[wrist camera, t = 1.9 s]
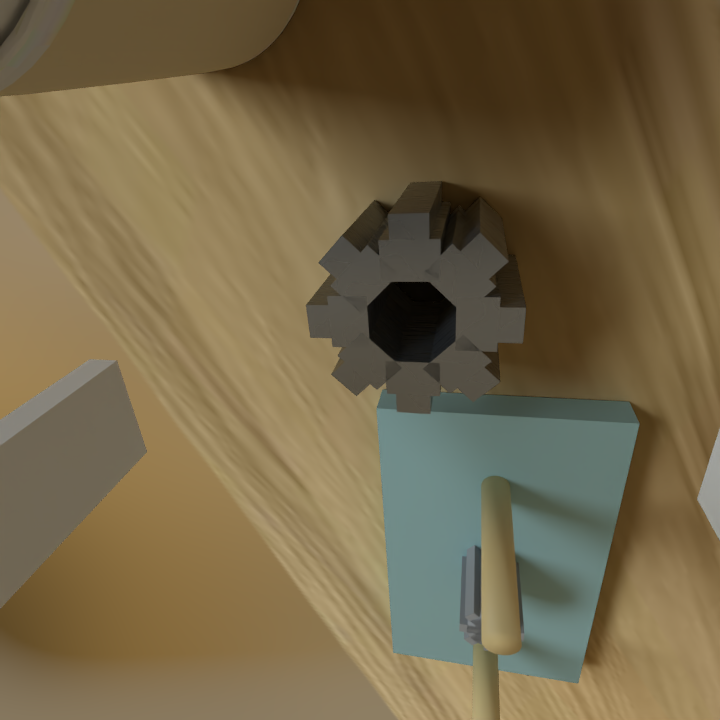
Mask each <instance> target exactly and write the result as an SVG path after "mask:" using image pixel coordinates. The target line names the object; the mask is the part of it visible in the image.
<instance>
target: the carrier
mask: <svg viewBox="0 0 720 720" xmlns="http://www.w3.org/2000/svg"><path fill="white" fill-rule="evenodd" d="M377 421H378V435H379V450H380V464H381V479H382V494H383V508H384V523H385V538H386V552H387V567H388V581H389V596H390V611H391V625H392V640H393V653H399V654H405V655H411V656H417V657H423V658H429V659H435V660H441V661H447V662H453V663H459V664H465V665H471V666H473V694H472V720H500V706H499V673H498V670H501V671H507V672H513V673H519V674H525V675H531V676H537V677H543V678H549V679H555V680H561V681H567V682H573V683H578V682H579V678H580V674H581V669H582V665H583V661H584V657H585V652H586V648H587V644H588V640H589V636H590V631H591V627H592V623H593V619H594V614H595V610H596V606H597V602H598V598H599V593H600V589H601V585H602V581H603V576H604V572H605V568H606V564H607V559H608V555H609V551H610V547H611V543H612V538H613V534H614V530H615V526H616V521H617V517H618V513H619V509H620V505H621V500H622V496H623V492H624V488H625V483H626V479H627V475H628V471H629V467H630V462H631V458H632V454H633V450H634V445H635V441H636V437H637V433H638V428H639V424H640V423H639V421H638V419H637V417H636V415H635V413H634V411H633V409H632V406H631V404H630V402H624V401H604V400H584V399H564V398H543V397H523V396H503V395H482V396H481V397H479V398H478V399H477V400H475V401H474V402H472V401H471V400H470V399H469V398H468V397H467V396H466V395H464V394H463V393H443V392H440V396H433V401H432V408H431V414H419V413H402V412H397V404H396V394H387V390H382V393H381V396H380V400H379V403H378V406H377Z"/></svg>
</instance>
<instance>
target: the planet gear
mask: <svg viewBox="0 0 720 720" xmlns="http://www.w3.org/2000/svg"><path fill="white" fill-rule="evenodd" d="M319 264H320V265H321V266H323V267H324V268H325V269H326V270H327V271H328V272H329V273H330V276H329V277H328V278H327V279H326V281H325V282H324V283H323V284H322V286H321V287H320V288H319V289H318V291H317V292H316V293H315V294H314V296H313V297H312V298H311V299H310V301H309V302H308V303H307V305H306V308H307V316H308V323H309V331H310V338H332V345H333V347H342V348H341V350H340V352H339V354H338V356H339V357H340V359H339V361H338V363H337V365H336V367H335V368H334V370H333V372H332V374H331V375H332V376H334V377H335V378H336V379H337V380H338V381H339V382H341V383H342V384H343V385H344V386H345V387H346V388H348V389H349V390H350V391H351V392H352V393H354V394H355V395H356V396H357V395H358V394H359V393H360V392H362V391H363V390H364V389H365V388H366V387H367V386H368V385H369V384H371V385H372V386H373V387H374V388H376V389H378V388H380V387H381V386H382V385H383V384H384V383H385V382H386V387H387V394H396V404H397V412H402V413H419V414H431V408H432V401H433V396H440V392H441V386H442V387H444V388H445V389H446V390H447V391H448V392H449V393H451V392H453V391H454V390H455V389H457V388H458V389H459V390H460V391H461V392H462V393H463V394H464V395H466V396H467V397H468V398H469V399H470V400H471V401H472V402H474V401H475V400H477V399H478V398H479V397H481V396H482V395H483V394H485V393H486V392H487V391H489V390H490V389H492V388H493V387H494V386H496V385H497V384H498V383H500V370H499V355H498V343H523V337H524V326H525V315H526V305H525V300H524V295H523V290H522V285H521V280H520V275H519V270H518V265H517V261H516V256H515V255H508V253H507V247H506V241H505V234H504V228H503V222H502V218H501V217H500V216H499V215H498V214H497V213H496V212H495V211H494V210H493V209H492V208H491V207H490V206H489V205H488V204H487V203H486V202H485V201H484V200H483V199H482V198H481V197H479V198H478V199H477V200H476V201H475V202H474V203H473V204H472V205H471V206H470V207H469V208H468V209H467V210H466V211H465V210H464V209H463V208H462V207H461V206H460V205H459V206H458V207H457V208H456V209H455V210H454V211H453V212H452V213H451V214H450V202H442V181H437V182H413V183H410V184H409V185H408V187H407V188H406V190H405V191H404V192H403V194H402V195H401V197H400V198H399V199H398V201H397V202H396V204H395V205H394V206H393V208H392V209H391V210H390V212H389V213H388V212H387V211H386V210H385V209H384V208H383V207H382V206H381V205H380V204H379V203H377V202H376V201H375V200H374V201H373V202H372V203H371V204H370V206H369V207H368V208H367V209H366V210H365V211H364V212H363V213H362V214H361V215H360V216H359V218H358V219H357V220H356V221H355V222H354V223H353V224H352V225H351V226H350V227H349V228H348V229H347V231H346V232H345V233H344V234H343V235H342V236H341V237H340V238H339V239H338V241H337V242H336V243H335V244H334V245H333V246H332V248H331V249H330V250H329V251H328V252H327V253H326V255H325V256H324V257H323V258H322V259H321V260H320V261H319ZM394 282H430V283H431V284H432V285H433V286H434V287H435V288H436V289H437V290H439V291H440V292H441V293H442V294H443V295H444V296H445V297H446V298H444V299H443V300H442V301H441V302H430V301H413V300H412V299H410V298H409V297H408V296H407V295H406V294H405V293H404V292H403V291H402V290H401V289H400V288H399V287H398V286H396V285H395V284H394Z"/></svg>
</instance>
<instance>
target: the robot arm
mask: <svg viewBox="0 0 720 720" xmlns="http://www.w3.org/2000/svg"><path fill="white" fill-rule="evenodd" d="M146 452H147V450H146V447H145V444H144V441H143V438H142V435H141V432H140V429H139V426H138V423H137V420H136V417H135V414H134V411H133V408H132V405H131V402H130V399H129V396H128V393H127V390H126V387H125V384H124V381H123V378H122V375H121V372H120V369H119V366H118V362H117V361H114V360H88V361H87V362H85V363H84V364H82V365H81V366H79V367H78V368H76V369H75V370H74V371H72V372H71V373H69V374H68V375H66V376H65V377H63V378H62V379H60V380H59V381H57V382H56V383H55V384H53V385H51V386H50V387H48V388H47V389H45V390H44V391H43V392H41V393H39V394H38V395H36V396H35V397H34V398H32V399H30V400H29V401H27V402H26V403H25V404H23V405H22V406H20V407H19V408H17V409H16V410H14V411H13V412H11V413H10V414H8V415H7V416H5V417H4V418H2V419H1V420H0V608H1V607H2V606H3V605H4V604H5V603H6V602H7V601H8V600H9V599H10V598H11V597H12V595H13V594H14V593H15V592H16V591H17V590H18V589H19V588H20V587H21V586H22V585H23V584H24V583H25V582H26V580H27V579H28V578H29V577H30V576H31V575H32V574H33V573H34V572H35V571H36V570H37V569H38V568H39V567H40V566H41V564H42V563H43V562H44V561H45V560H46V559H47V558H48V557H49V556H50V555H51V554H52V553H53V552H54V550H56V548H57V547H58V546H59V545H60V544H61V543H62V542H63V541H64V540H65V539H66V538H67V537H68V536H69V535H70V534H71V532H72V531H73V530H74V529H75V528H76V527H77V526H78V525H79V524H80V523H81V522H82V521H83V520H84V519H85V518H86V516H87V515H88V514H89V513H90V512H91V511H92V510H93V509H94V508H95V507H96V506H97V505H98V504H99V502H100V501H101V500H102V499H103V498H104V497H105V496H106V495H107V494H108V493H109V492H110V491H111V490H112V489H113V488H114V487H115V485H116V484H117V483H118V482H119V481H120V480H121V479H122V478H123V477H124V476H125V475H126V474H127V473H128V471H130V469H131V468H132V467H133V466H134V465H135V464H136V463H137V462H138V461H139V460H140V459H141V458H142V457H143V455H144V454H145V453H146ZM697 500H698V502H699V503H700V505H701V507H702V509H703V511H704V513H705V514H706V516H707V518H708V520H709V522H710V524H711V526H712V527H713V529H714V531H715V533H716V535H717V537H718V539H719V540H720V429H719V432H718V435H717V438H716V442H715V445H714V448H713V451H712V454H711V457H710V460H709V464H708V467H707V470H706V473H705V476H704V479H703V482H702V486H701V489H700V492H699V495H698V498H697Z"/></svg>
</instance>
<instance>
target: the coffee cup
mask: <svg viewBox="0 0 720 720" xmlns="http://www.w3.org/2000/svg"><path fill="white" fill-rule="evenodd" d="M298 3H299V0H0V96H11V95H23V94H33V93H42V92H51V91H59V90H68V89H77V88H86V87H95V86H103V85H112V84H121V83H130V82H138V81H146V80H154V79H162V78H170V77H178V76H185V75H193V74H201V73H207V72H212V71H217V70H222V69H227V68H232V67H235V66H238V65H240V64H243V63H245V62H248V61H249V60H251V59H253V58H254V57H256V56H258V55H259V54H260V53H262V52H263V51H264V50H265V49H267V48H268V47H269V46H270V45H271V44H272V43H273V42H274V41H275V40H276V38H277V37H278V36H279V35H280V34H281V33H282V31H283V30H284V28H285V27H286V25H287V24H288V22H289V21H290V19H291V17H292V16H293V14H294V12H295V10H296V7H297V5H298Z"/></svg>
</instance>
